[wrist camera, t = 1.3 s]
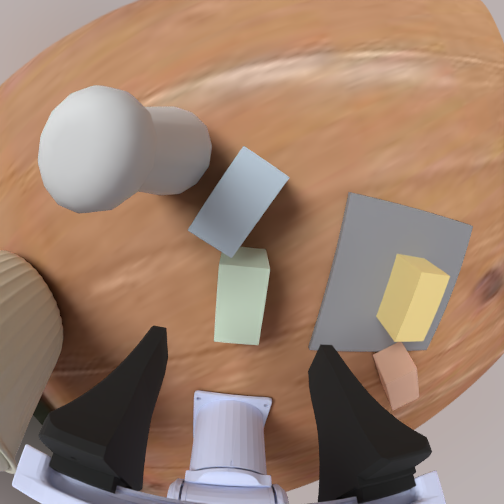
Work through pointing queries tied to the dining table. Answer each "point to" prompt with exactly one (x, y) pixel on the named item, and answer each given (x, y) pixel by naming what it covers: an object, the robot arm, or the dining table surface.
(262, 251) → the green brick
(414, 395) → the terracotta brick
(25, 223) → the dining table surface
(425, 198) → the dining table surface
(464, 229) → the felt mat
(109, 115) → the salt shaker
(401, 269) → the mustard brick
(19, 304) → the canister
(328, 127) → the dining table surface
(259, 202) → the slate brick
